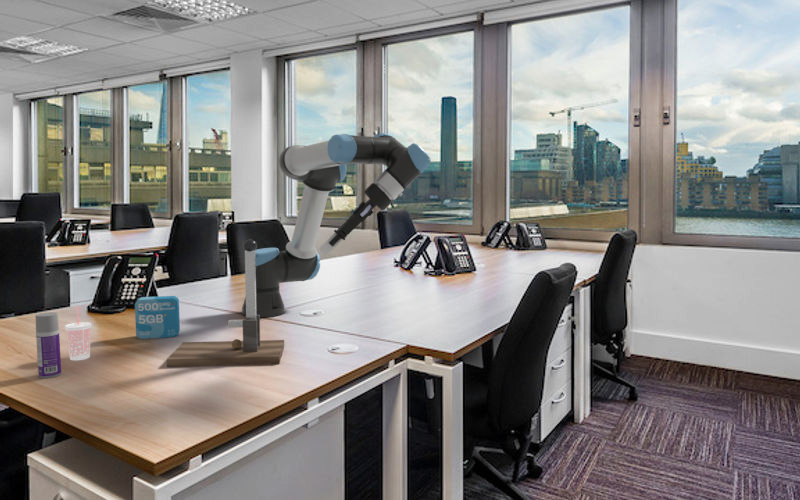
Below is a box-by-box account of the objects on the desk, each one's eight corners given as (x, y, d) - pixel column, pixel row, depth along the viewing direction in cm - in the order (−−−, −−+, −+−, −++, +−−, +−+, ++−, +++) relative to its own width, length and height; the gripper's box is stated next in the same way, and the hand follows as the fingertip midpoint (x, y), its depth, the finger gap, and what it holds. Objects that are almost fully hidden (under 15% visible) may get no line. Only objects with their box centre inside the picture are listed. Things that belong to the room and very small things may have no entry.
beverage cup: (87, 353, 154) (84, 302, 153) (97, 357, 150) (94, 306, 149) (62, 358, 150) (59, 306, 148) (72, 362, 146) (69, 309, 144)
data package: (136, 339, 169) (134, 300, 167) (138, 335, 173) (136, 297, 172) (179, 336, 172) (177, 298, 171) (180, 333, 176) (178, 295, 175)
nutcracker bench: (183, 349, 159) (182, 312, 158) (284, 346, 162) (283, 310, 161) (167, 366, 143) (165, 326, 142) (279, 363, 147) (278, 324, 146)
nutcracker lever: (229, 327, 154) (227, 238, 151) (259, 326, 155) (257, 238, 152) (227, 330, 150) (225, 240, 148) (257, 329, 151) (255, 239, 149)
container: (65, 372, 139) (62, 312, 137) (54, 378, 134) (50, 316, 132) (46, 372, 138) (42, 312, 137) (34, 378, 134) (30, 316, 132)
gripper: (395, 202, 147) (331, 265, 147) (390, 200, 160) (331, 259, 160) (375, 181, 146) (310, 245, 146) (371, 181, 159) (312, 240, 159)
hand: (321, 252), depth 153 cm, fingers closed
